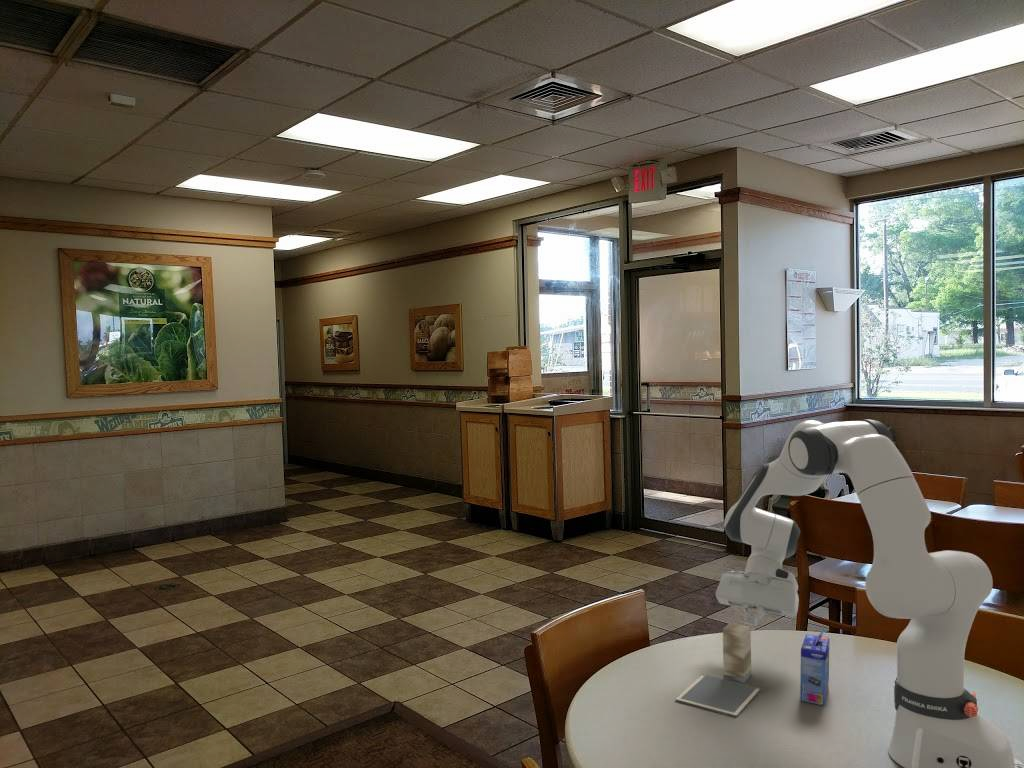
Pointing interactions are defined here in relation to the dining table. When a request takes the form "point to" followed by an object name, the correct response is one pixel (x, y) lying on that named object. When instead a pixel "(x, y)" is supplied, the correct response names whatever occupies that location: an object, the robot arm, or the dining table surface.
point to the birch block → (737, 652)
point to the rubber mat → (718, 695)
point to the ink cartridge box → (814, 669)
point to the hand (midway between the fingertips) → (749, 623)
